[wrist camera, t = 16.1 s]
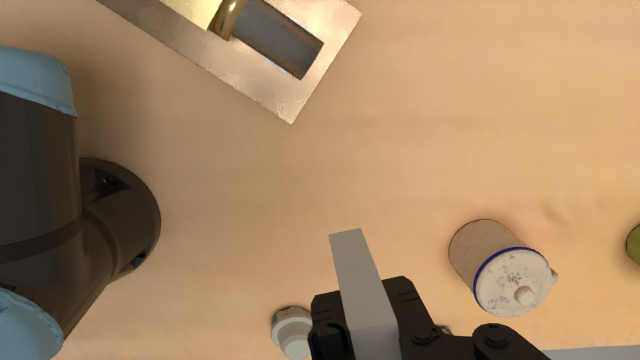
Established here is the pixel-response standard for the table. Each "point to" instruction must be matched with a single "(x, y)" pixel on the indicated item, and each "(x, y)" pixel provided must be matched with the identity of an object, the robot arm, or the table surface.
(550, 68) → the table surface
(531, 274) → the teacup with lid
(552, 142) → the table surface
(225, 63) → the valve stand
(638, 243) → the plant pot
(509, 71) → the table surface
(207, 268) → the table surface
